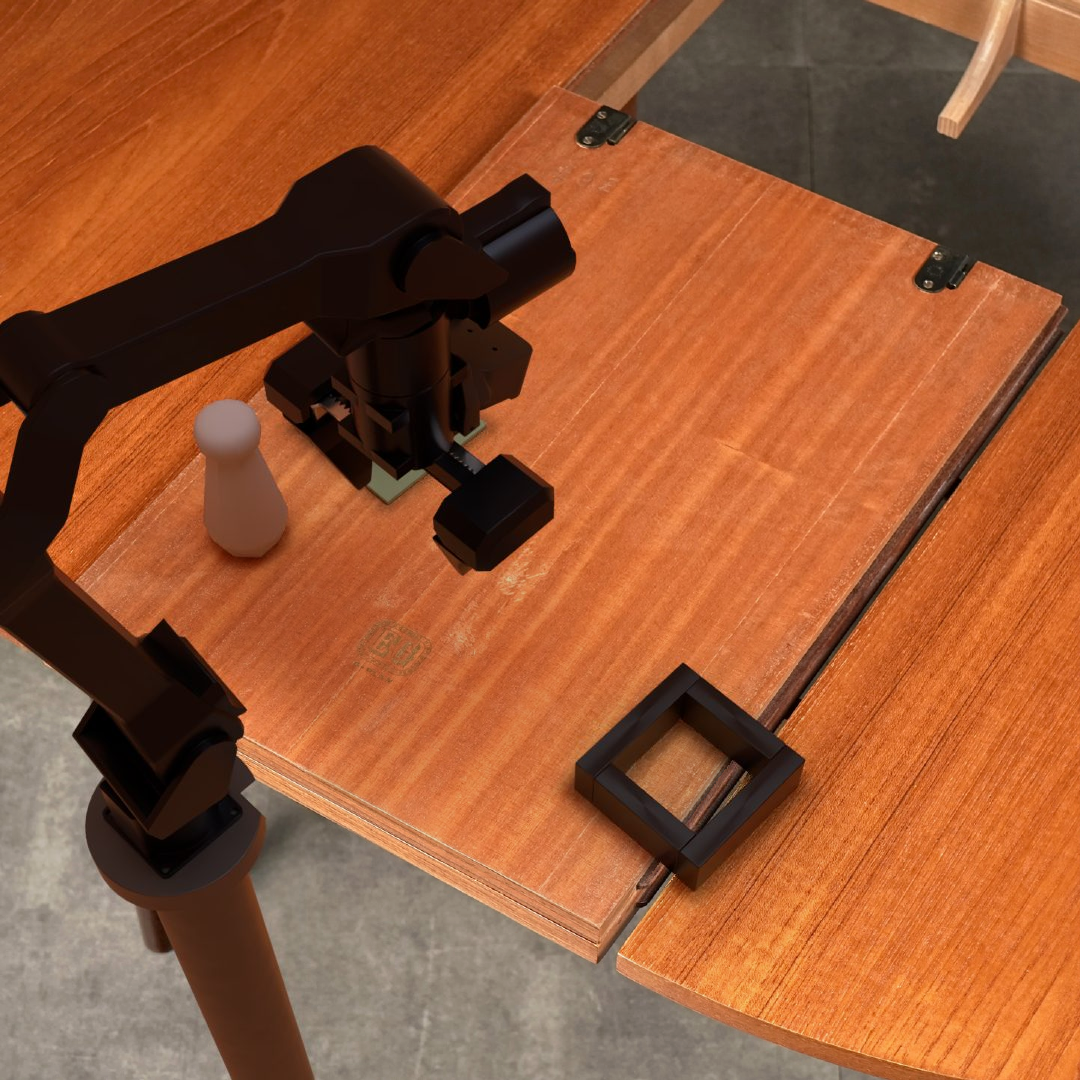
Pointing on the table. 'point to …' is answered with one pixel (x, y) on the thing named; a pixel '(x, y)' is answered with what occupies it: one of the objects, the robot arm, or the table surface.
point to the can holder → (723, 728)
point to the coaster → (392, 488)
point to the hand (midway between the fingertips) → (414, 526)
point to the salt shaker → (238, 481)
